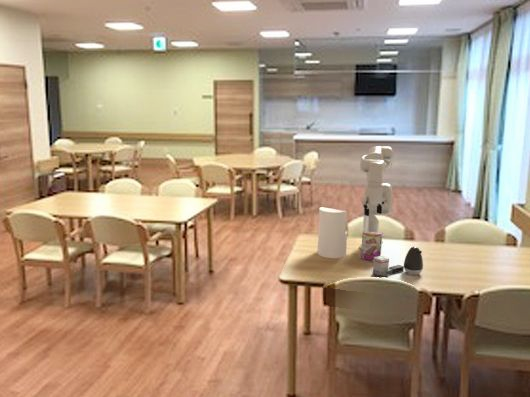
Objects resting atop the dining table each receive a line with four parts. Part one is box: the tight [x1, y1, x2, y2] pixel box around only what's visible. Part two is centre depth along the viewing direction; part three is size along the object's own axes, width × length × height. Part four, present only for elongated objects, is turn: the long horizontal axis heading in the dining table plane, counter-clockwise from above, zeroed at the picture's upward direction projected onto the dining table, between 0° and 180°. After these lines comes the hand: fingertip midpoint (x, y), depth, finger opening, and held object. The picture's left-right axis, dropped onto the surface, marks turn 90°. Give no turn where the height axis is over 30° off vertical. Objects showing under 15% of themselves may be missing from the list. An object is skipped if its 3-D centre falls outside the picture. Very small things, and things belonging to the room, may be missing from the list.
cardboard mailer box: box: [372, 255, 390, 273], centre depth 270 cm, size 6×6×7 cm
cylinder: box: [317, 206, 348, 259], centre depth 303 cm, size 17×17×28 cm
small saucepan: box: [372, 264, 405, 278], centre depth 274 cm, size 20×8×7 cm, turn 123°
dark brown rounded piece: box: [403, 246, 424, 276], centre depth 274 cm, size 10×10×15 cm
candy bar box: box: [360, 231, 383, 262], centre depth 295 cm, size 11×5×16 cm, turn 71°
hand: (372, 214), depth 279 cm, fingers open, 9 cm apart
